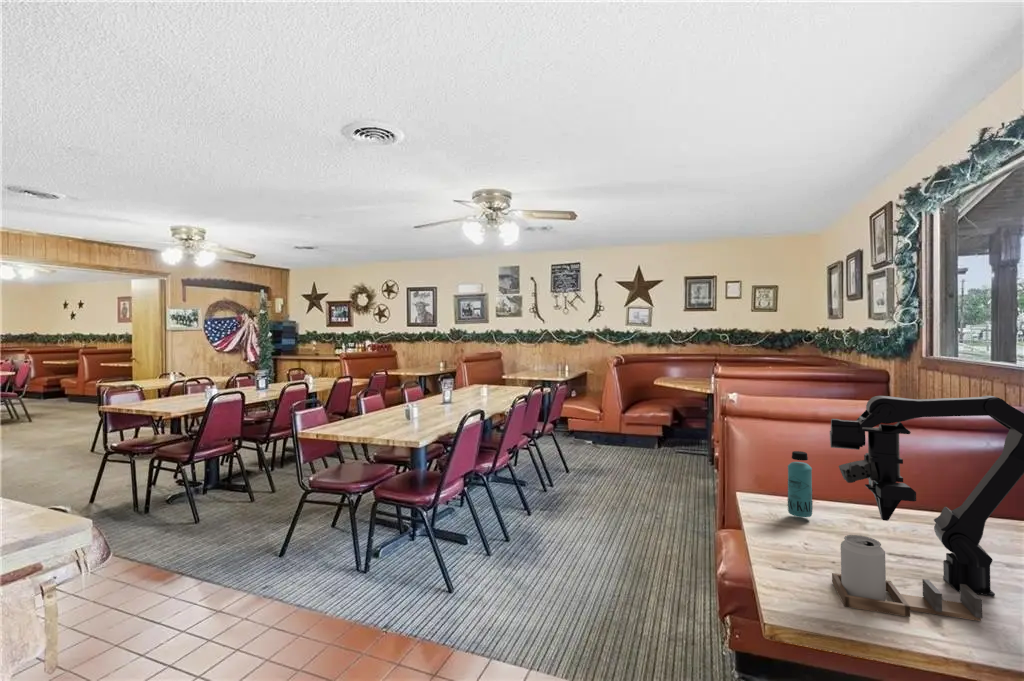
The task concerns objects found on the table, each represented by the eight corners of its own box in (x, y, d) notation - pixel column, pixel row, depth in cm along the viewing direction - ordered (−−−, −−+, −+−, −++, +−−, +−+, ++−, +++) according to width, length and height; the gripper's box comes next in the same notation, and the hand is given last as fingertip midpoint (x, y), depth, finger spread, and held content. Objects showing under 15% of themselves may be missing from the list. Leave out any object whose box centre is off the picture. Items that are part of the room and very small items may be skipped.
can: (888, 611, 96) (887, 550, 96) (842, 601, 100) (841, 542, 100) (883, 594, 102) (882, 536, 102) (840, 585, 106) (839, 530, 106)
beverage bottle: (789, 513, 150) (788, 448, 151) (815, 518, 146) (813, 451, 146) (785, 519, 145) (784, 452, 145) (811, 524, 141) (810, 455, 141)
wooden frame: (961, 600, 99) (960, 579, 99) (989, 629, 89) (988, 605, 89) (832, 582, 107) (831, 562, 107) (844, 606, 97) (844, 584, 97)
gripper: (832, 441, 123) (833, 503, 123) (853, 458, 106) (854, 530, 106) (886, 444, 119) (887, 508, 119) (916, 462, 102) (918, 537, 102)
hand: (884, 520), depth 112 cm, fingers closed
